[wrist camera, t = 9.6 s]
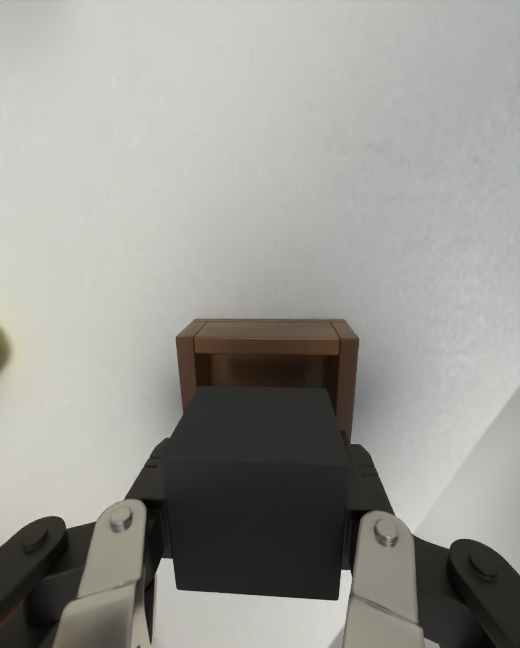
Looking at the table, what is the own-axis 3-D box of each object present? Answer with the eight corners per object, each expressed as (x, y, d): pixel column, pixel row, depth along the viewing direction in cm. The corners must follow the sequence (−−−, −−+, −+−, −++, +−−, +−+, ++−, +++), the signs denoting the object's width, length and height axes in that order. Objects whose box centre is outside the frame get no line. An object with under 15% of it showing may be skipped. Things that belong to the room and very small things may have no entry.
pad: (326, 387, 11) (351, 464, 7) (321, 492, 13) (339, 602, 9) (198, 384, 12) (157, 456, 8) (206, 487, 13) (176, 591, 9)
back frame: (344, 319, 15) (359, 338, 12) (330, 539, 19) (338, 592, 16) (194, 318, 16) (175, 336, 13) (211, 533, 20) (199, 582, 17)
